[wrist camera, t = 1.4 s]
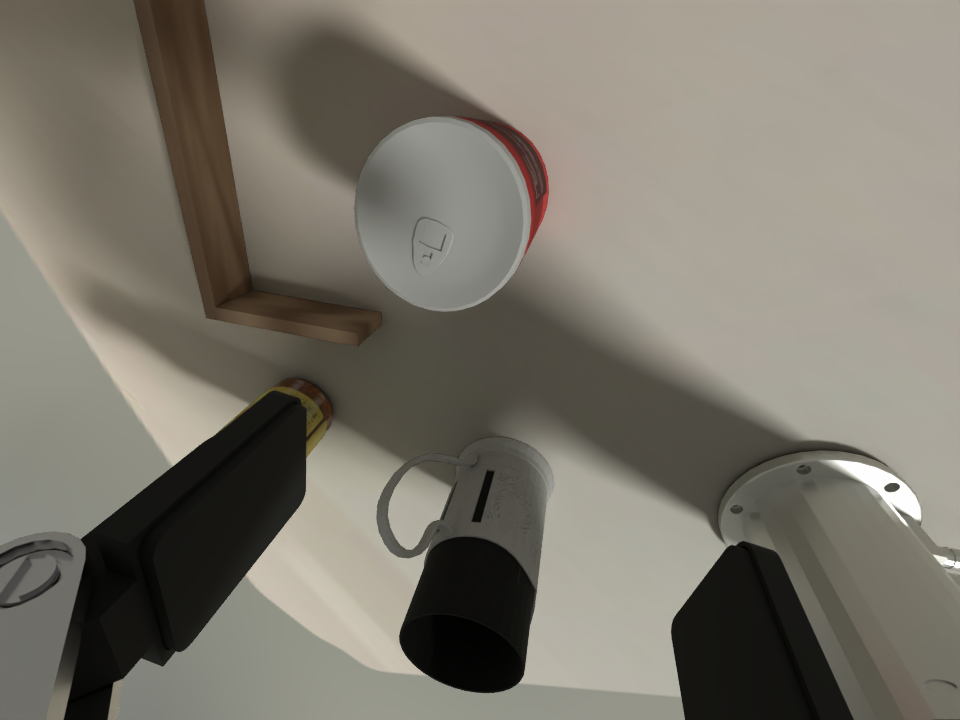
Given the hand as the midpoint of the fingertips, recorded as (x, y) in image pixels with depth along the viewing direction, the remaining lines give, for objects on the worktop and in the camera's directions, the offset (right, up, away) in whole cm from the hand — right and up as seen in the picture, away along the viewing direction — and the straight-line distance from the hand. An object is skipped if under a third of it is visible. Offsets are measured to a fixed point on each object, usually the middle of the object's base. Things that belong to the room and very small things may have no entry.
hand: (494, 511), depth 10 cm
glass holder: (0, -5, +28) cm, 28 cm away
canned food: (0, +14, +18) cm, 23 cm away
